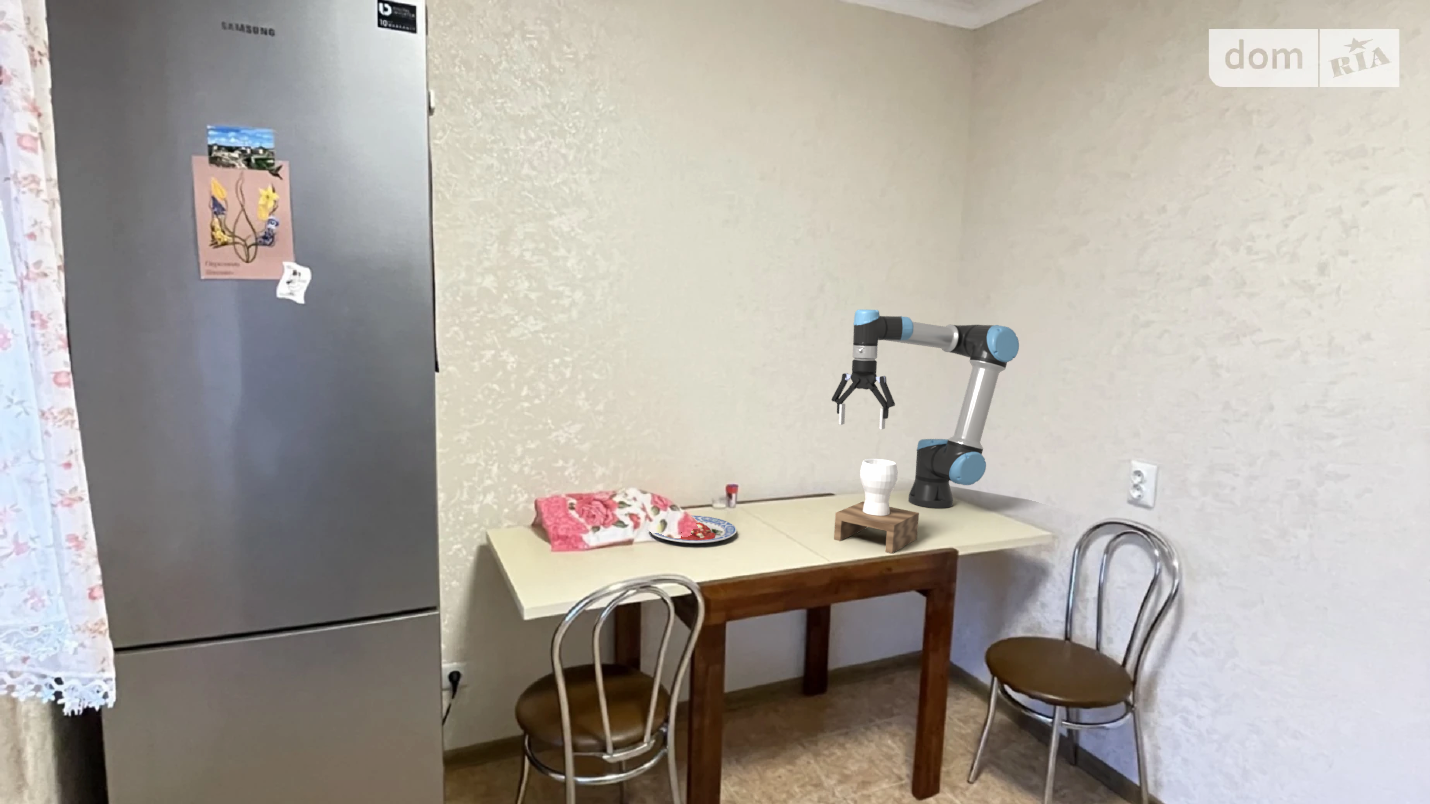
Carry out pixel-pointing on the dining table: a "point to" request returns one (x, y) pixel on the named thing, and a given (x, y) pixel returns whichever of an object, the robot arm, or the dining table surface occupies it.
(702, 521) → the ceramic plate
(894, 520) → the walnut shelf
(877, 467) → the cup
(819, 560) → the dining table surface
